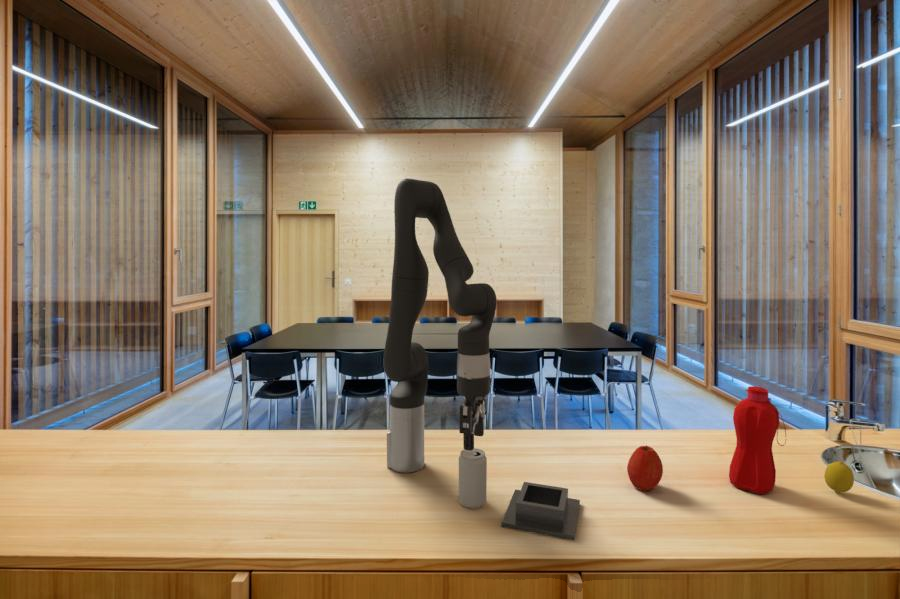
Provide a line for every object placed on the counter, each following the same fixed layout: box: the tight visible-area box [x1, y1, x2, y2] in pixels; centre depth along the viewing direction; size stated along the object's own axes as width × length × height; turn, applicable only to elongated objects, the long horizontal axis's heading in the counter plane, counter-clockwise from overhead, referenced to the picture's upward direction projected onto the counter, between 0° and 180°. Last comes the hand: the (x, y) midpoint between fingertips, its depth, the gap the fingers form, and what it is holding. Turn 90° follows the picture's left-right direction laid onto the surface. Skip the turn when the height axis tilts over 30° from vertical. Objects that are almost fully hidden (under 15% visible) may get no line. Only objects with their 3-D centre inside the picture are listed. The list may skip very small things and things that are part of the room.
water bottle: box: [728, 385, 787, 495], centre depth 120 cm, size 9×11×25 cm
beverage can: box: [458, 447, 488, 509], centre depth 112 cm, size 6×6×12 cm
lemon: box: [824, 460, 855, 494], centre depth 118 cm, size 6×6×8 cm
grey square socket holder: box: [500, 481, 581, 541], centre depth 108 cm, size 15×15×4 cm
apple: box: [626, 445, 664, 492], centre depth 120 cm, size 8×8×11 cm
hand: (474, 442), depth 111 cm, fingers open, 8 cm apart
